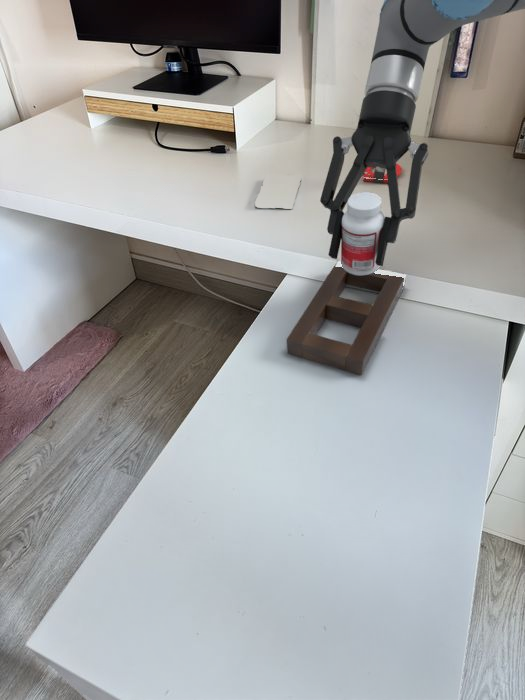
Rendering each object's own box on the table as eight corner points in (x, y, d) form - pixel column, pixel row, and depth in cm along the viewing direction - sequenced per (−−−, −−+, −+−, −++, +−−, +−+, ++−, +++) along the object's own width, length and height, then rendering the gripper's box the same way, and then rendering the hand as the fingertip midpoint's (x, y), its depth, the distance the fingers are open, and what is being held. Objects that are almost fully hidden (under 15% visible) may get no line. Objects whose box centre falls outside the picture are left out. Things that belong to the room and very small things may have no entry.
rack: (404, 287, 85) (406, 273, 83) (361, 375, 72) (362, 361, 70) (338, 272, 89) (338, 258, 87) (287, 353, 77) (286, 339, 75)
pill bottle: (363, 248, 81) (367, 184, 73) (389, 266, 77) (396, 201, 69) (332, 263, 79) (333, 199, 71) (358, 282, 75) (361, 217, 67)
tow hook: (365, 164, 116) (358, 182, 110) (369, 105, 107) (362, 121, 101) (403, 166, 114) (397, 185, 108) (410, 106, 105) (405, 122, 99)
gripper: (459, 115, 72) (423, 274, 74) (330, 108, 78) (300, 255, 80) (461, 90, 65) (421, 267, 67) (319, 84, 71) (286, 246, 73)
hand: (355, 260), depth 74 cm, fingers closed on pill bottle, 6 cm apart
